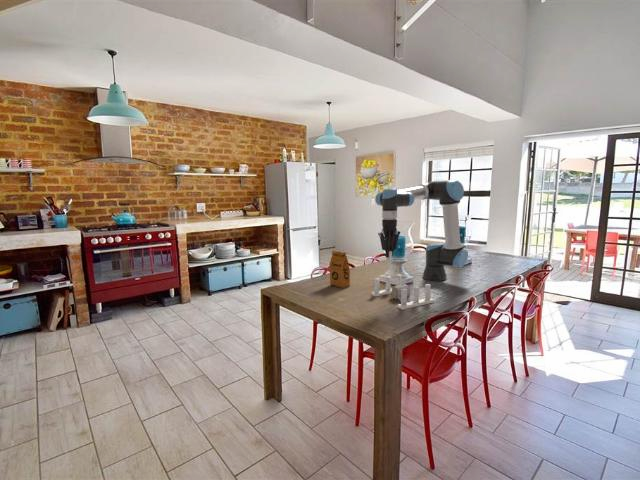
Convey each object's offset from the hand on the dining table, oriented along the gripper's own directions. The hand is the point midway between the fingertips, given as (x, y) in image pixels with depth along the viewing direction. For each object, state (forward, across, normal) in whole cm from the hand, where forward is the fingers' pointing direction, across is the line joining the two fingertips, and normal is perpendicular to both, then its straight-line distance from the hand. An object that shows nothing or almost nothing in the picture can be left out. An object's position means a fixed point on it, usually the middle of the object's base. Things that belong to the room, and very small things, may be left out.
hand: (389, 263), depth 173 cm
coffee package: (+21, -8, +38) cm, 44 cm away
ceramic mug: (+21, +8, -1) cm, 23 cm away
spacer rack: (+21, +9, 0) cm, 23 cm away
